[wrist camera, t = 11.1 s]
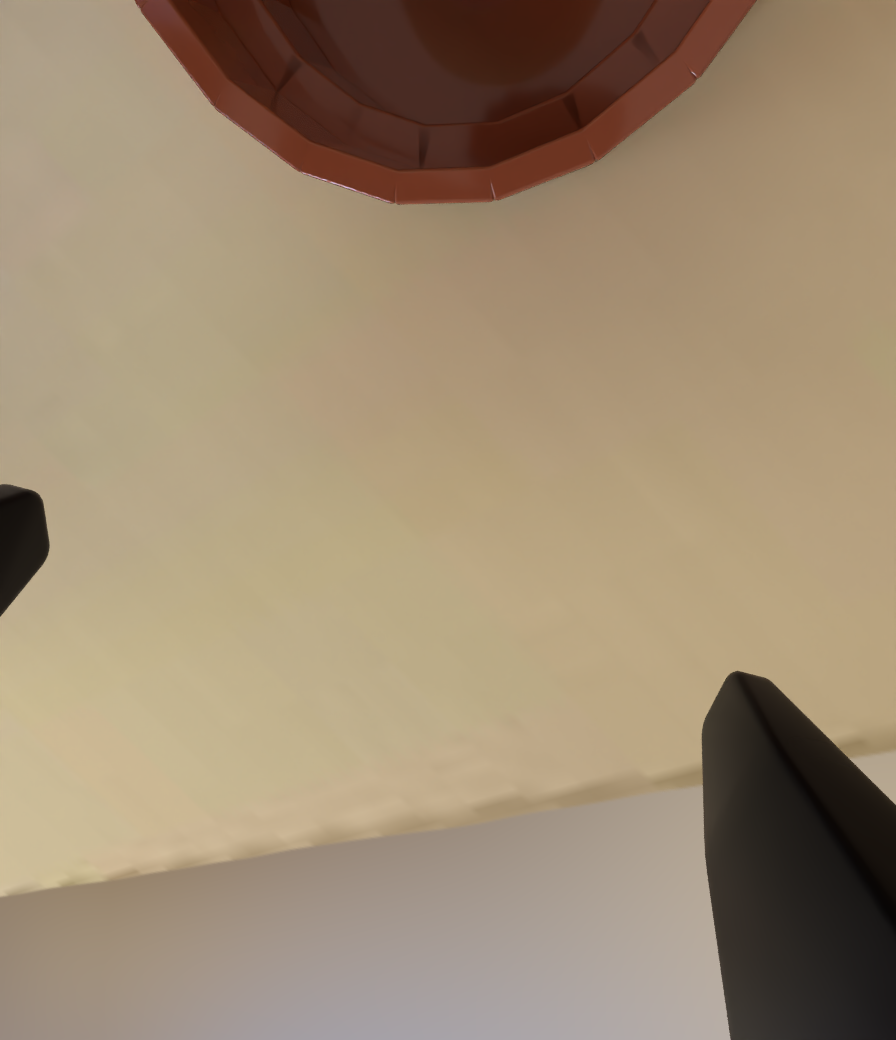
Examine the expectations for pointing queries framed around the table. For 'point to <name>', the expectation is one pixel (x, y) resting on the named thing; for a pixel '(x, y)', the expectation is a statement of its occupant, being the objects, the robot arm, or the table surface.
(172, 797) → the table surface
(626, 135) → the bowl
